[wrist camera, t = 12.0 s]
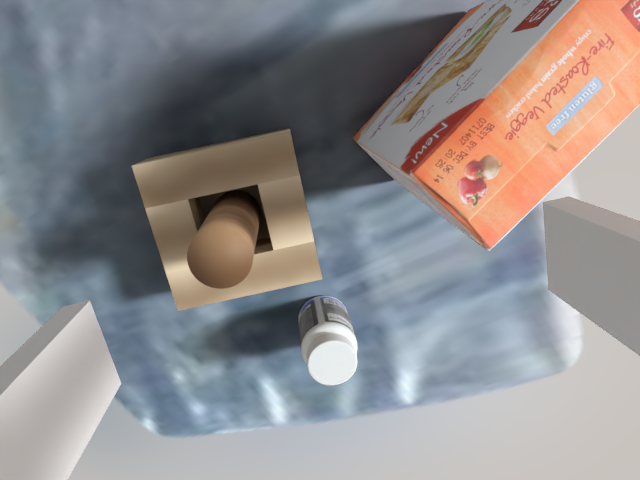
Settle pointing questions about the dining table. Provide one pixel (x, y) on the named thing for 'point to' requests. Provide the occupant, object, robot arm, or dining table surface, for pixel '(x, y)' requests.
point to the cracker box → (508, 108)
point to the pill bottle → (327, 340)
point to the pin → (226, 241)
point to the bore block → (201, 195)
